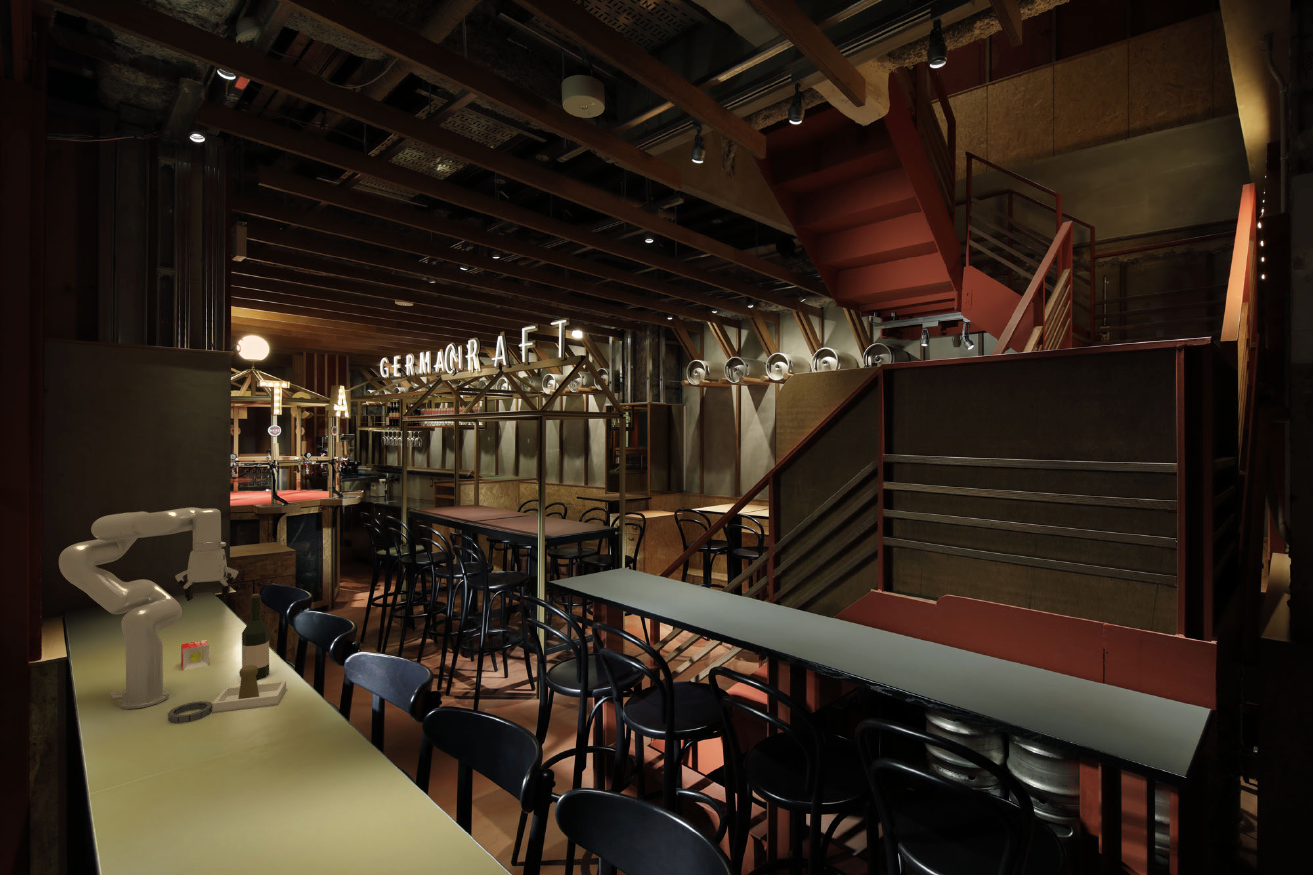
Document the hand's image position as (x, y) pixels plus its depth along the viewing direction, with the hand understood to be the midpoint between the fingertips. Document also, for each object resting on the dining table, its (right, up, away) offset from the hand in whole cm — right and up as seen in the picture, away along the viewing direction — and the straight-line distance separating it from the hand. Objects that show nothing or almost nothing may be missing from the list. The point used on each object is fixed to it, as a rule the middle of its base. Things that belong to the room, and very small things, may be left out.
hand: (207, 598), depth 207 cm
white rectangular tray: (+13, -34, +2) cm, 37 cm away
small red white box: (-29, -34, +34) cm, 56 cm away
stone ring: (+1, -34, -9) cm, 36 cm away
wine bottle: (+2, -34, +22) cm, 41 cm away
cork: (+13, -34, +1) cm, 36 cm away
